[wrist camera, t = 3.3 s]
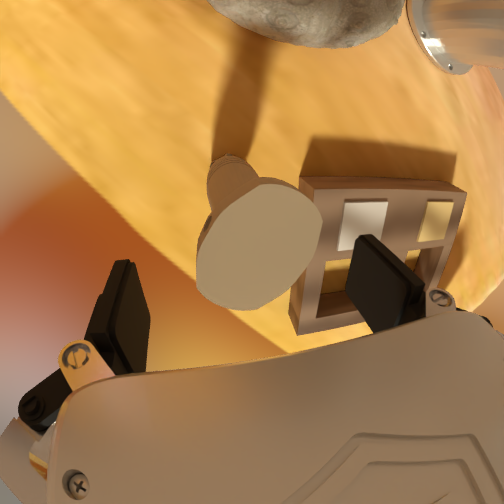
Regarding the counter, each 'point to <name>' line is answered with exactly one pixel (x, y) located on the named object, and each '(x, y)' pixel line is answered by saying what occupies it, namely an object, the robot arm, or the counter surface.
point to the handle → (253, 236)
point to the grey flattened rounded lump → (314, 19)
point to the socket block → (382, 227)
